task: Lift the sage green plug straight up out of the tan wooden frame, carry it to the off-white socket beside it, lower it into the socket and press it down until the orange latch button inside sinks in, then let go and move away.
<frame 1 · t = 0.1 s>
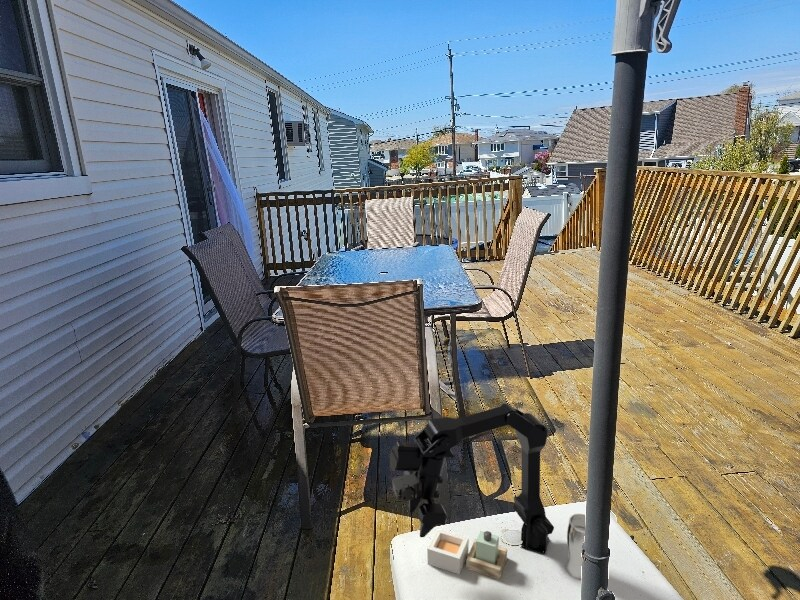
hand: (416, 524, 128), 15 cm above the table, tool pointing down, fingers open, 9 cm apart
tan wooden frame: (486, 562, 135), on the table
plug: (486, 563, 135), resting in tan wooden frame
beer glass: (578, 570, 132), on the table
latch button: (448, 550, 136), point 3 cm above the table, slide at 0.0 cm
socket: (448, 558, 137), on the table
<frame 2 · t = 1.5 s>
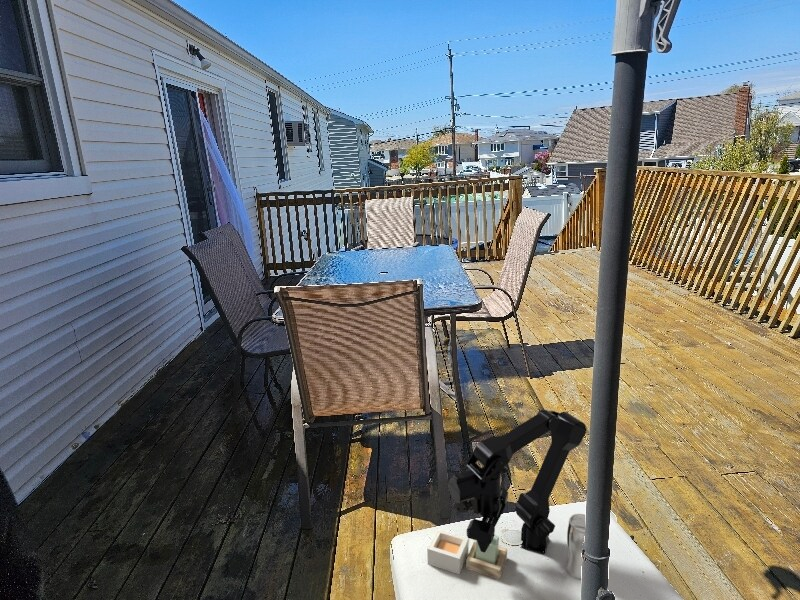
hand: (487, 539, 133), 8 cm above the table, tool pointing down, fingers open, 9 cm apart
nothing on the table moved.
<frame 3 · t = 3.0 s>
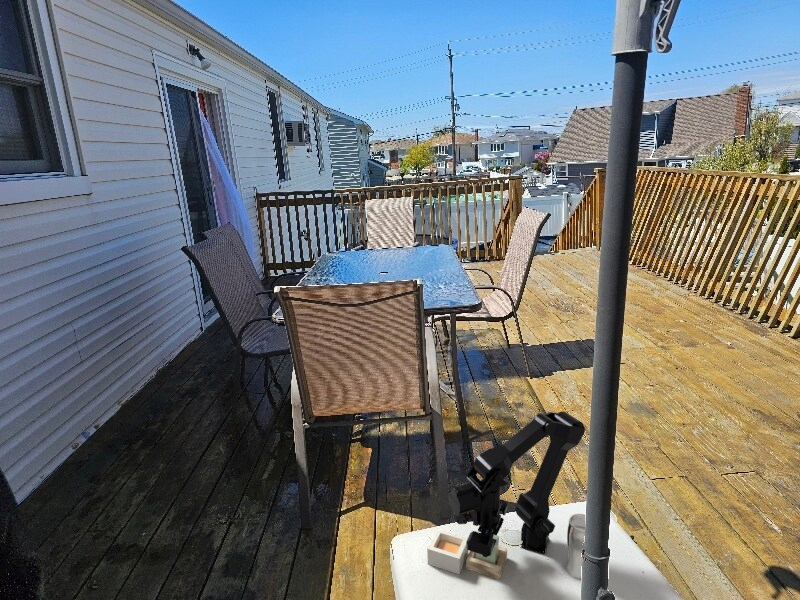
hand: (487, 550, 134), 4 cm above the table, tool pointing down, fingers closed on plug, 4 cm apart
plug: (486, 563, 135), resting in tan wooden frame, touching gripper
everything else where it was.
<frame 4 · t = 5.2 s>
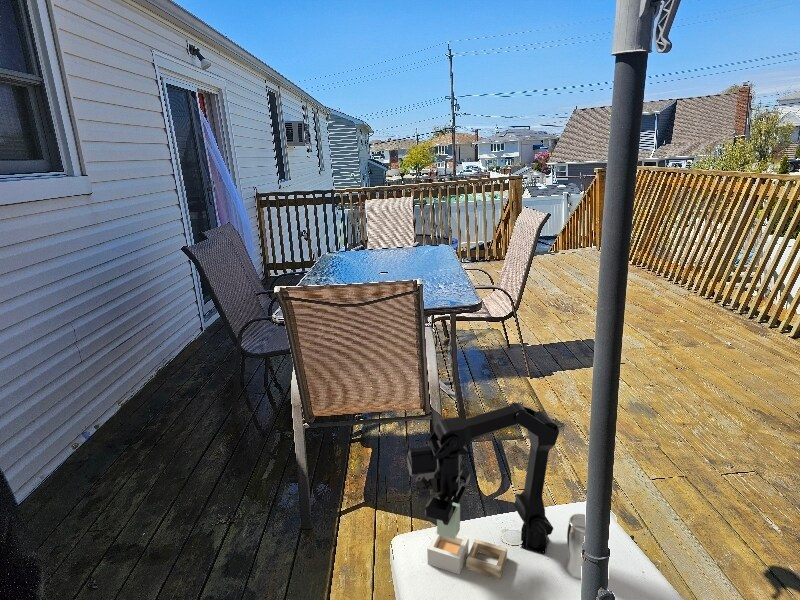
hand: (448, 519, 133), 13 cm above the table, tool pointing down, fingers closed on plug, 4 cm apart
plug: (448, 531, 134), point 9 cm above the table, touching gripper
everything else where it was.
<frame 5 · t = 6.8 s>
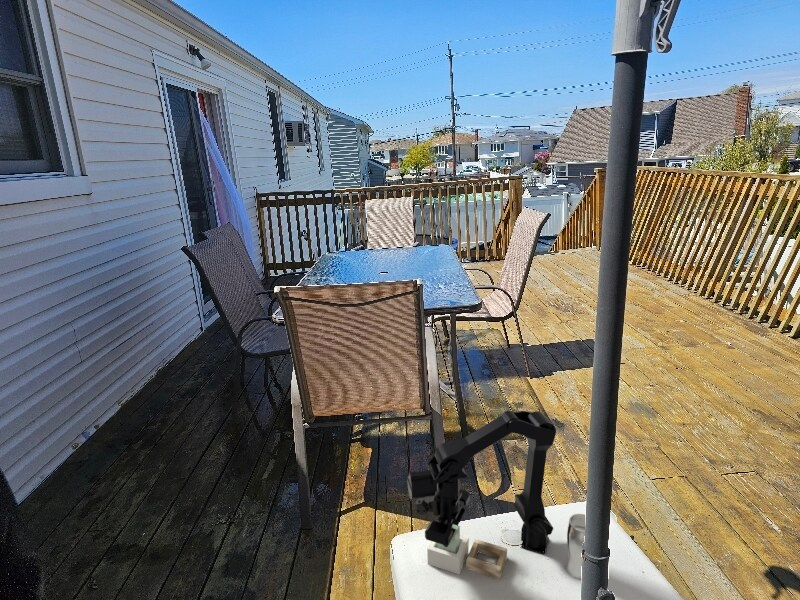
hand: (448, 540, 135), 6 cm above the table, tool pointing down, fingers closed on plug, 4 cm apart
plug: (448, 552, 136), point 2 cm above the table, touching gripper, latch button
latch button: (448, 554, 136), point 1 cm above the table, slide at 1.2 cm, touching plug
everything else where it was.
when the fingers open (6 cm above the table, at t = 7.8 s): plug stays where it is, resting on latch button.
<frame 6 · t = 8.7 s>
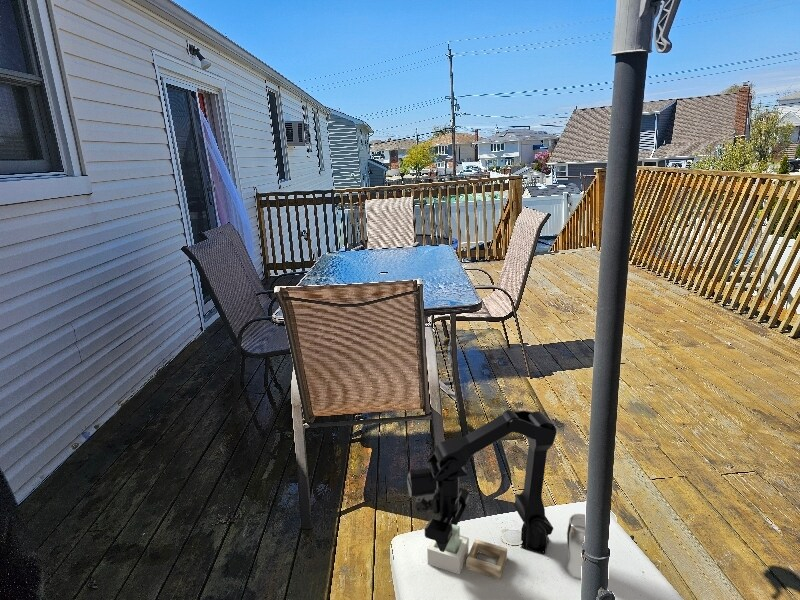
hand: (448, 539, 135), 6 cm above the table, tool pointing down, fingers open, 9 cm apart
plug: (448, 553, 136), point 2 cm above the table, touching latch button
everything else where it was.
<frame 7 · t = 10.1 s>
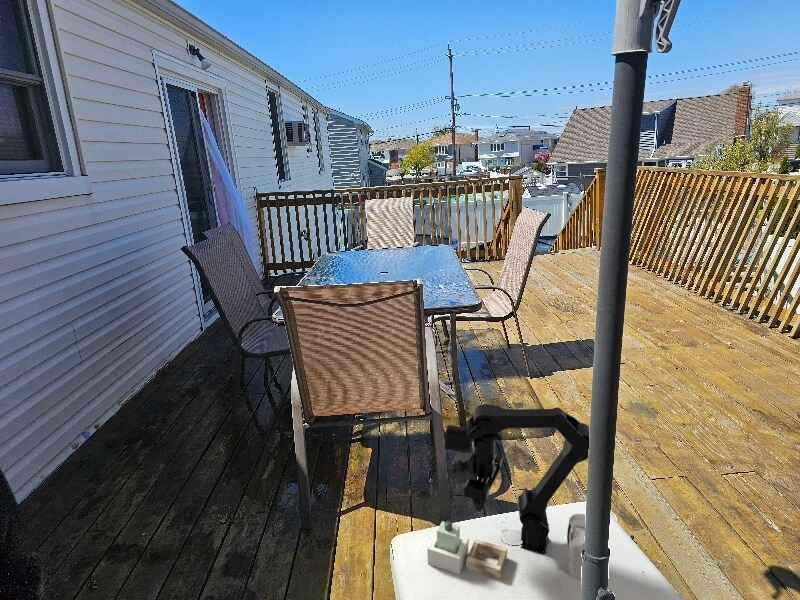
hand: (483, 500, 139), 13 cm above the table, tool pointing down, fingers open, 9 cm apart
nothing on the table moved.
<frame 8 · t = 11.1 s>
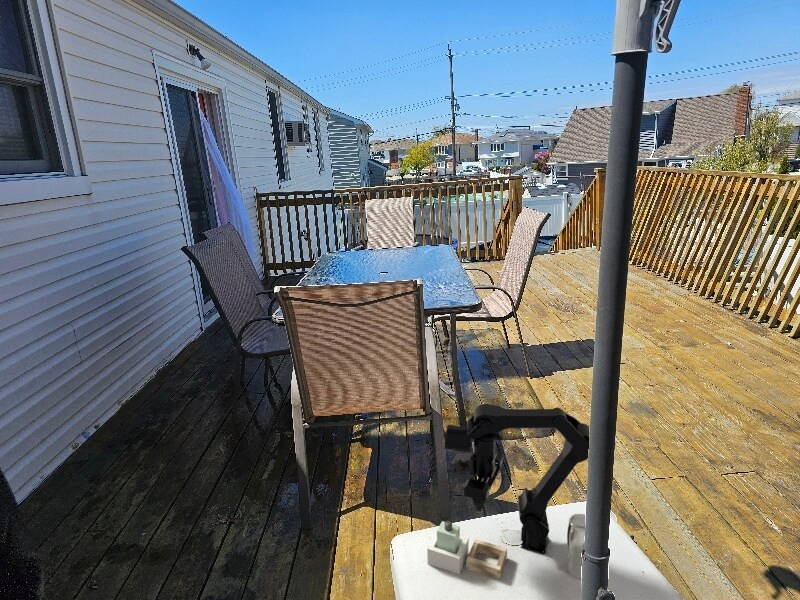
hand: (483, 500, 139), 13 cm above the table, tool pointing down, fingers open, 9 cm apart
nothing on the table moved.
at the end: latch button slide at 1.2 cm; plug 0.0 cm off-centre on the socket, point 1.7 cm above the socket's base; plug tilted 0° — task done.
